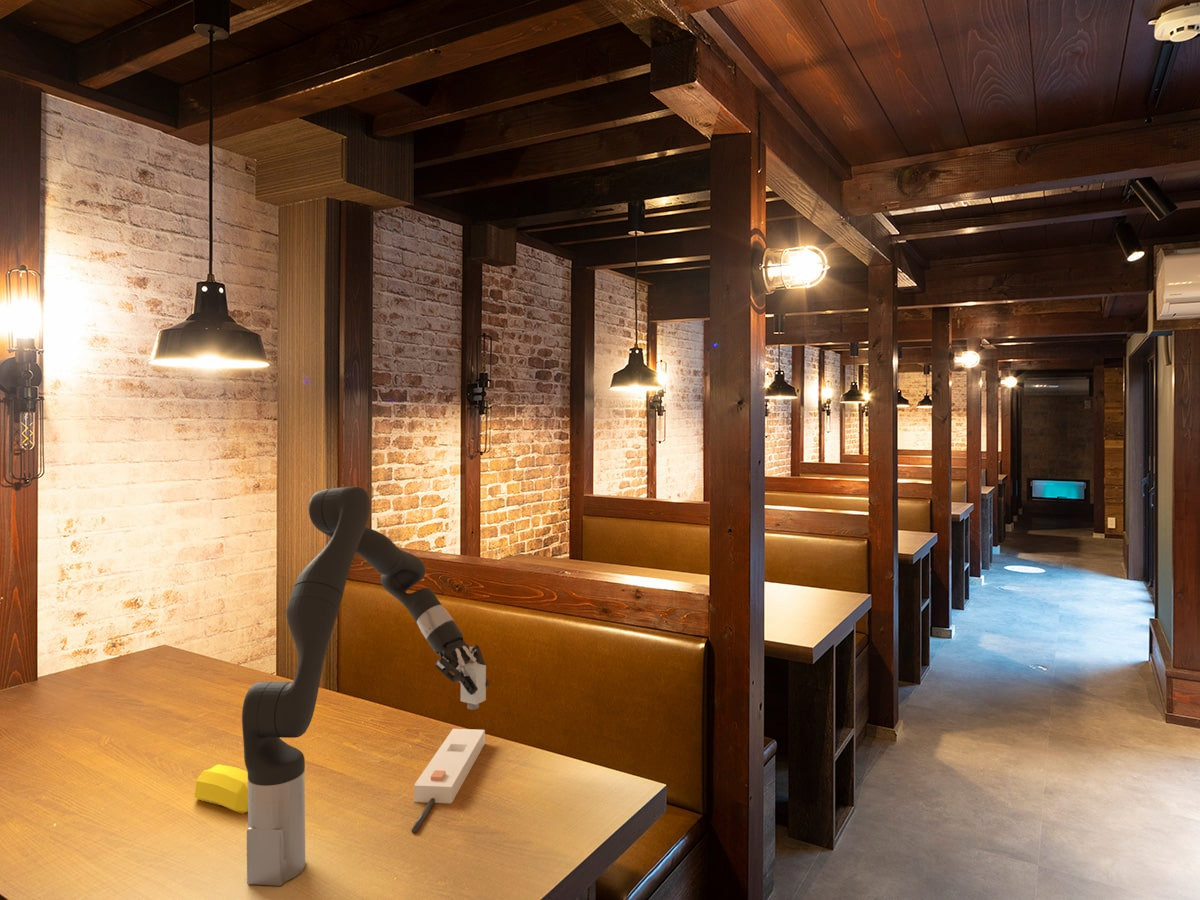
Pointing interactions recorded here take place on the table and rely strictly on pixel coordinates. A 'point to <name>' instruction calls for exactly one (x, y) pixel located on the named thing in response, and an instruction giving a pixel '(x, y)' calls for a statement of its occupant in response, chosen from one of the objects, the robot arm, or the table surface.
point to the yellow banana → (224, 787)
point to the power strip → (448, 769)
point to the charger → (479, 679)
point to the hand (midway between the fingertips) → (480, 689)
